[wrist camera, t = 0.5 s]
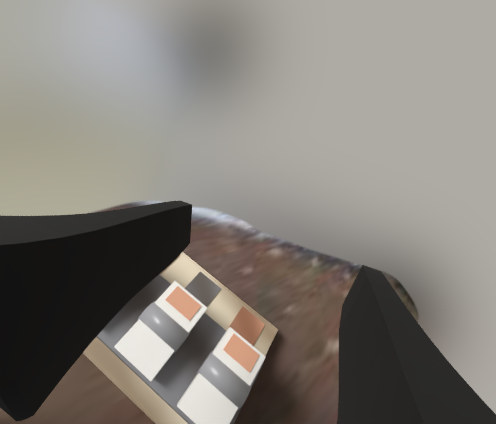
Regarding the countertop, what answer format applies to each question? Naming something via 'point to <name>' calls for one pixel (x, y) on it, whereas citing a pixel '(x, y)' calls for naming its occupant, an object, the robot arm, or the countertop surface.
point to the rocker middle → (161, 330)
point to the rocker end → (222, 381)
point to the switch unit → (192, 349)
